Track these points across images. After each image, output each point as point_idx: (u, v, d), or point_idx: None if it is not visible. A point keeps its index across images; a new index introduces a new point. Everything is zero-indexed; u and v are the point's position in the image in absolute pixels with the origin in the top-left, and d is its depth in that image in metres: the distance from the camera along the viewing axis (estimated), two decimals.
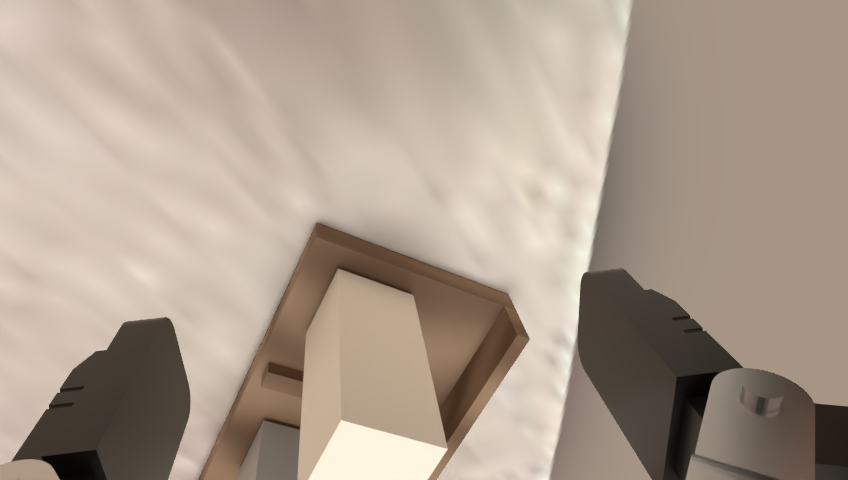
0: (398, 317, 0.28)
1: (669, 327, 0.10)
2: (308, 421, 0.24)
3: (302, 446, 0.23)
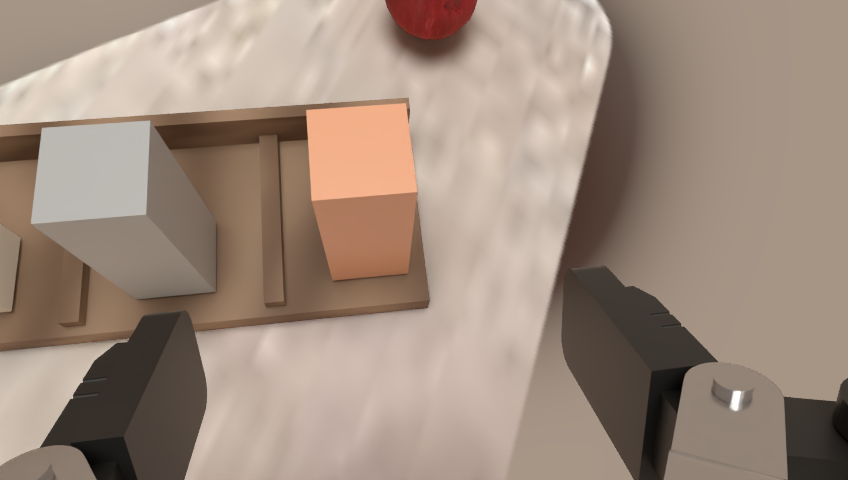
0: None
1: (647, 322, 0.10)
2: None
3: None
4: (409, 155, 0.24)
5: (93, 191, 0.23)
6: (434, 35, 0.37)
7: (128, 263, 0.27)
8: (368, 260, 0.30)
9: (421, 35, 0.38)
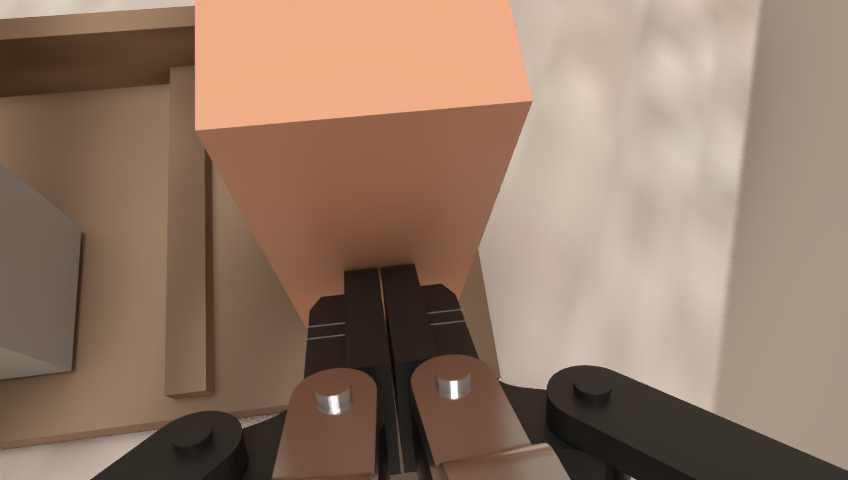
0: None
1: (419, 318, 0.10)
2: None
3: None
4: None
5: None
6: None
7: None
8: None
9: None
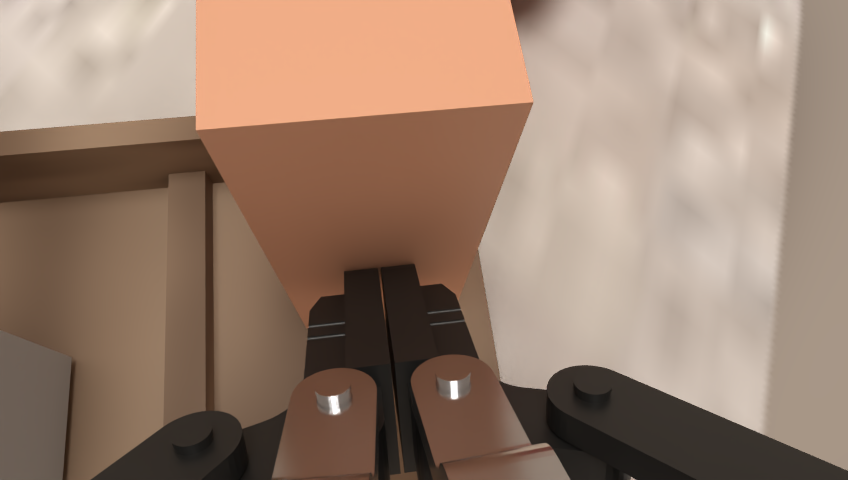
0: None
1: (418, 318, 0.10)
2: None
3: None
4: None
5: None
6: None
7: None
8: None
9: None
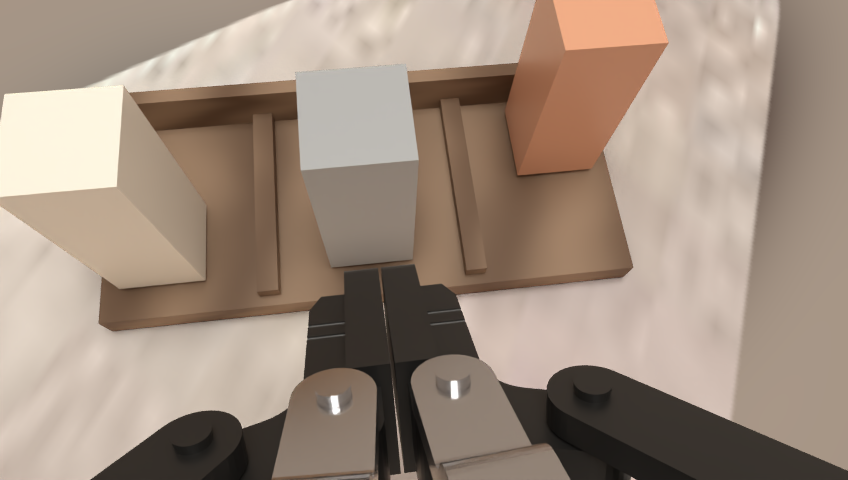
0: None
1: (419, 317, 0.10)
2: (125, 225, 0.23)
3: (132, 215, 0.22)
4: (654, 9, 0.24)
5: (359, 136, 0.21)
6: None
7: (356, 222, 0.25)
8: (567, 146, 0.30)
9: None
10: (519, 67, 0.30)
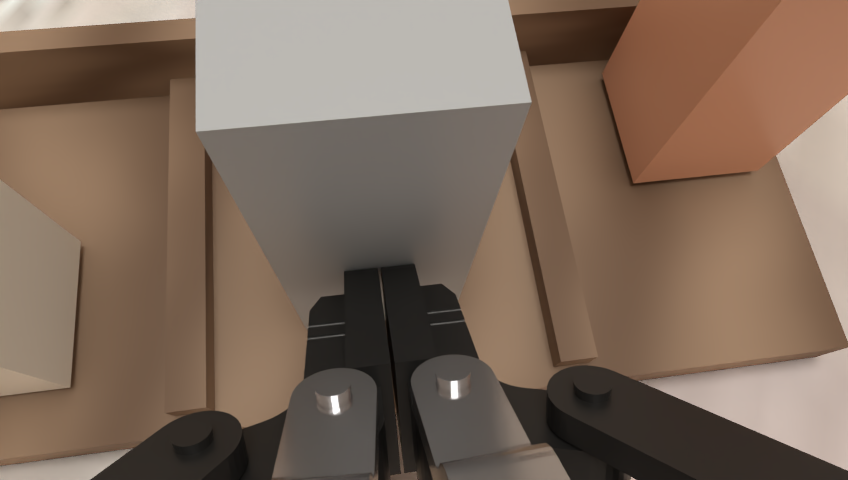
0: None
1: (419, 318, 0.10)
2: None
3: None
4: None
5: (365, 40, 0.08)
6: None
7: (354, 258, 0.12)
8: (742, 129, 0.16)
9: None
10: None
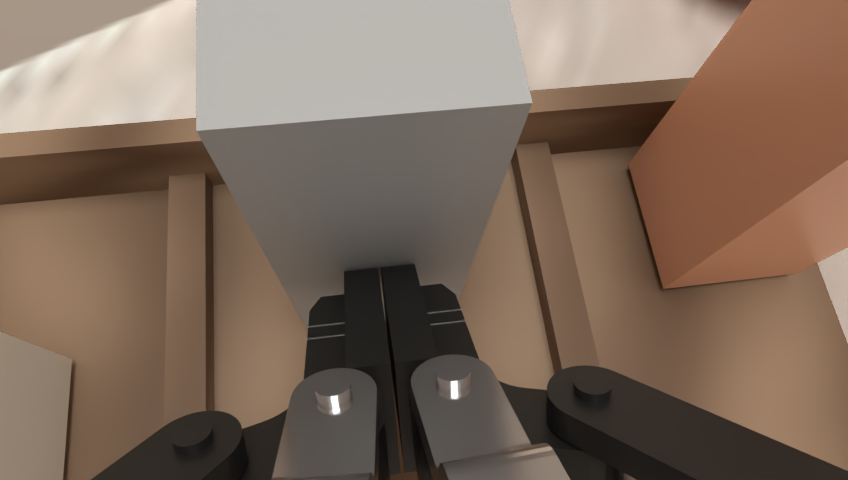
0: None
1: (418, 318, 0.10)
2: None
3: None
4: None
5: (365, 40, 0.08)
6: None
7: (354, 257, 0.12)
8: (785, 248, 0.15)
9: None
10: (692, 91, 0.15)
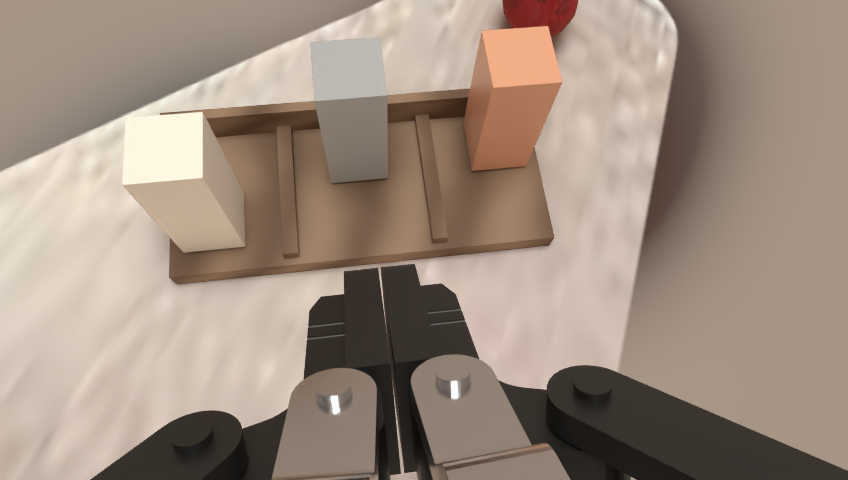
0: None
1: (419, 317, 0.10)
2: (201, 204, 0.34)
3: (207, 197, 0.34)
4: (554, 59, 0.35)
5: (350, 81, 0.34)
6: None
7: (348, 143, 0.38)
8: (505, 149, 0.42)
9: None
10: (470, 93, 0.41)
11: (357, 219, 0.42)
